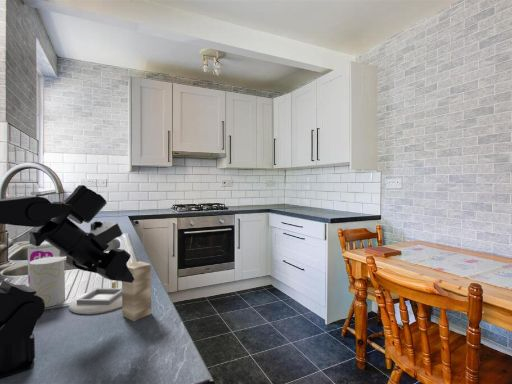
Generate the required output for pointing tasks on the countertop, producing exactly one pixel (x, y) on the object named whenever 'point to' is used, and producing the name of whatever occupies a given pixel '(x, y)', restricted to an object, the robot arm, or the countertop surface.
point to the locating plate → (97, 301)
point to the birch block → (137, 292)
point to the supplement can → (41, 253)
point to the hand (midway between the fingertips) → (121, 277)
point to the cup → (48, 279)
